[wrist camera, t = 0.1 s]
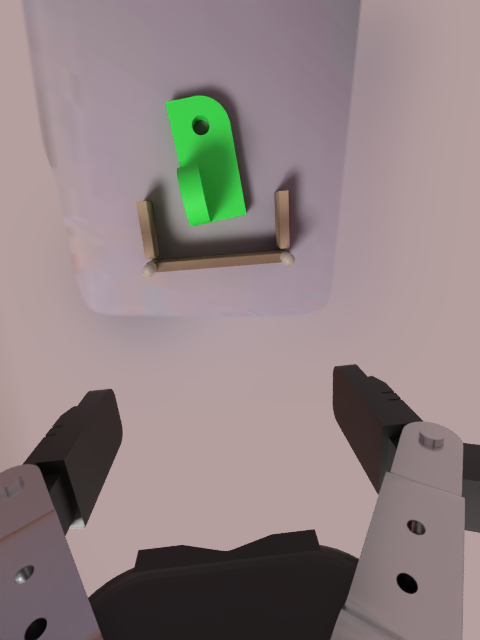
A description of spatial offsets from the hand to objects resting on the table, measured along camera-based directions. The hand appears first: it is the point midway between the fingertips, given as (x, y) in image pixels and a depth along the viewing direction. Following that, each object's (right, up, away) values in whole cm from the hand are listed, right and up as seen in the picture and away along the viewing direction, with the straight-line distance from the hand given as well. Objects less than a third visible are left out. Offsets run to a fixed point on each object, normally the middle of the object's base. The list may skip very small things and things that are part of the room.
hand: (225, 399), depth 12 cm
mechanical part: (-3, +20, +24) cm, 32 cm away
